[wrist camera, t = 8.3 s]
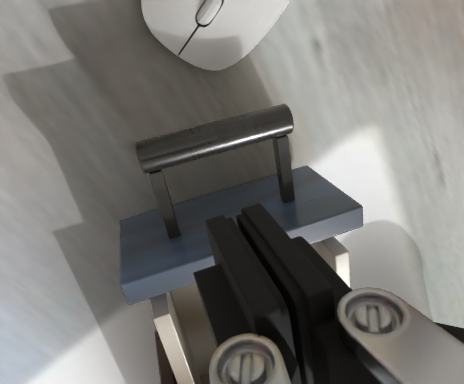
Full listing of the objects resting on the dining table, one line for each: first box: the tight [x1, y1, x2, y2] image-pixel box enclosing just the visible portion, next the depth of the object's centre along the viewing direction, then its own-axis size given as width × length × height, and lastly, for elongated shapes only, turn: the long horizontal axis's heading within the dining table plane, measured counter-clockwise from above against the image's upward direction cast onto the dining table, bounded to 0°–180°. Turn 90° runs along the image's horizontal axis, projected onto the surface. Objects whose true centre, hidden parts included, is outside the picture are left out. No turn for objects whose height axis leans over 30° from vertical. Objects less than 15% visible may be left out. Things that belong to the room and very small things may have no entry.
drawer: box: [120, 104, 363, 384], centre depth 20 cm, size 18×11×6 cm, turn 11°
